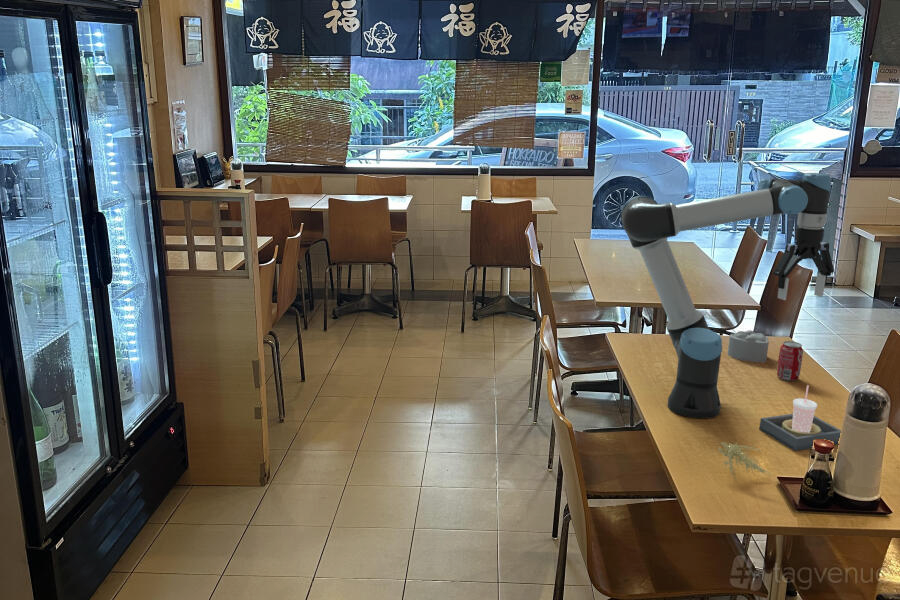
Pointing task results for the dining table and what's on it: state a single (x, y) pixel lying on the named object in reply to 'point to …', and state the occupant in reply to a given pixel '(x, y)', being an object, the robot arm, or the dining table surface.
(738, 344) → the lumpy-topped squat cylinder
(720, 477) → the dining table surface
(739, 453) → the plant sprig
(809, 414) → the beverage cup
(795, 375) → the soda can
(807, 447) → the walled box
